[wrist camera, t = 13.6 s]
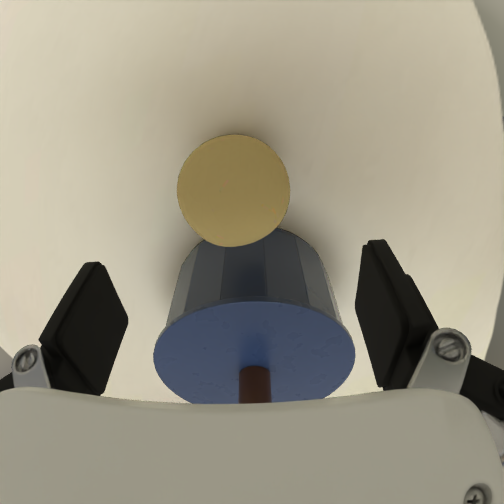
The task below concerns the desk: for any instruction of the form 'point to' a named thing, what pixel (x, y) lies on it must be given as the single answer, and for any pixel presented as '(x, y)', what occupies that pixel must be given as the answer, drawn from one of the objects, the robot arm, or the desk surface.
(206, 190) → the light bulb
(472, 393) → the robot arm
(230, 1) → the desk surface
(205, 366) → the pot lid
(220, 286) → the pot
